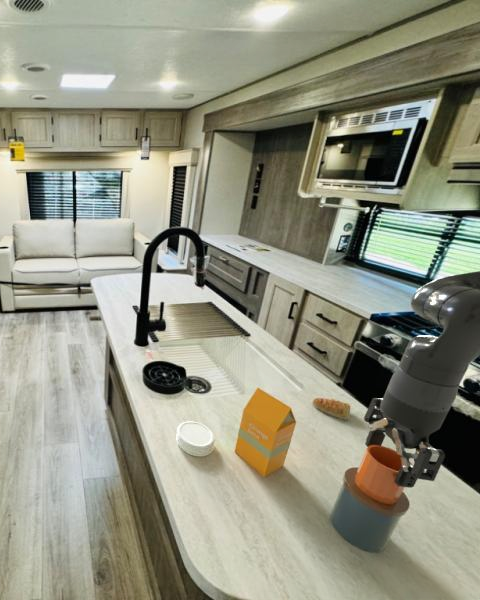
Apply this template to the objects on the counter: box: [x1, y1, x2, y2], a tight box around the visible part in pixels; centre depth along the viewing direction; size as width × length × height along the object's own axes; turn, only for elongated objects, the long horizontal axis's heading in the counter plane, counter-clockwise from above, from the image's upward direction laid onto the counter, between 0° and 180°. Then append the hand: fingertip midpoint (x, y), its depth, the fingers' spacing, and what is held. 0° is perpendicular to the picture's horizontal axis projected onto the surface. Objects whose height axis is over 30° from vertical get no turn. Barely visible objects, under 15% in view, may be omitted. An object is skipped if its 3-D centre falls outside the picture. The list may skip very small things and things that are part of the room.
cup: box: [355, 445, 413, 504], centre depth 60 cm, size 6×6×8 cm
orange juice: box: [234, 387, 297, 478], centre depth 79 cm, size 8×9×20 cm
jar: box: [329, 466, 411, 554], centre depth 64 cm, size 10×10×12 cm
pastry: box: [312, 397, 351, 421], centre depth 98 cm, size 9×7×4 cm
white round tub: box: [175, 420, 216, 457], centre depth 87 cm, size 10×10×4 cm
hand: (385, 464), depth 59 cm, fingers open, 8 cm apart
